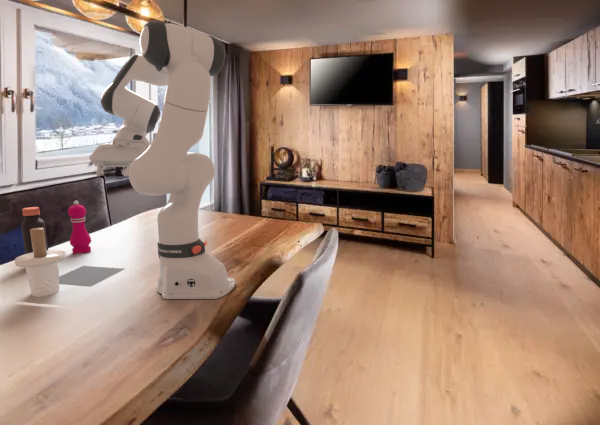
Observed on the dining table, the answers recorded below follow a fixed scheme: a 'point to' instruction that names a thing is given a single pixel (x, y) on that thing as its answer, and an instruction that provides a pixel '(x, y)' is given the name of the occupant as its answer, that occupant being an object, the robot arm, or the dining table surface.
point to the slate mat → (87, 275)
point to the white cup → (43, 279)
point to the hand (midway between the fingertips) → (111, 174)
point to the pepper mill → (79, 229)
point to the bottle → (31, 226)
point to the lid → (39, 252)
